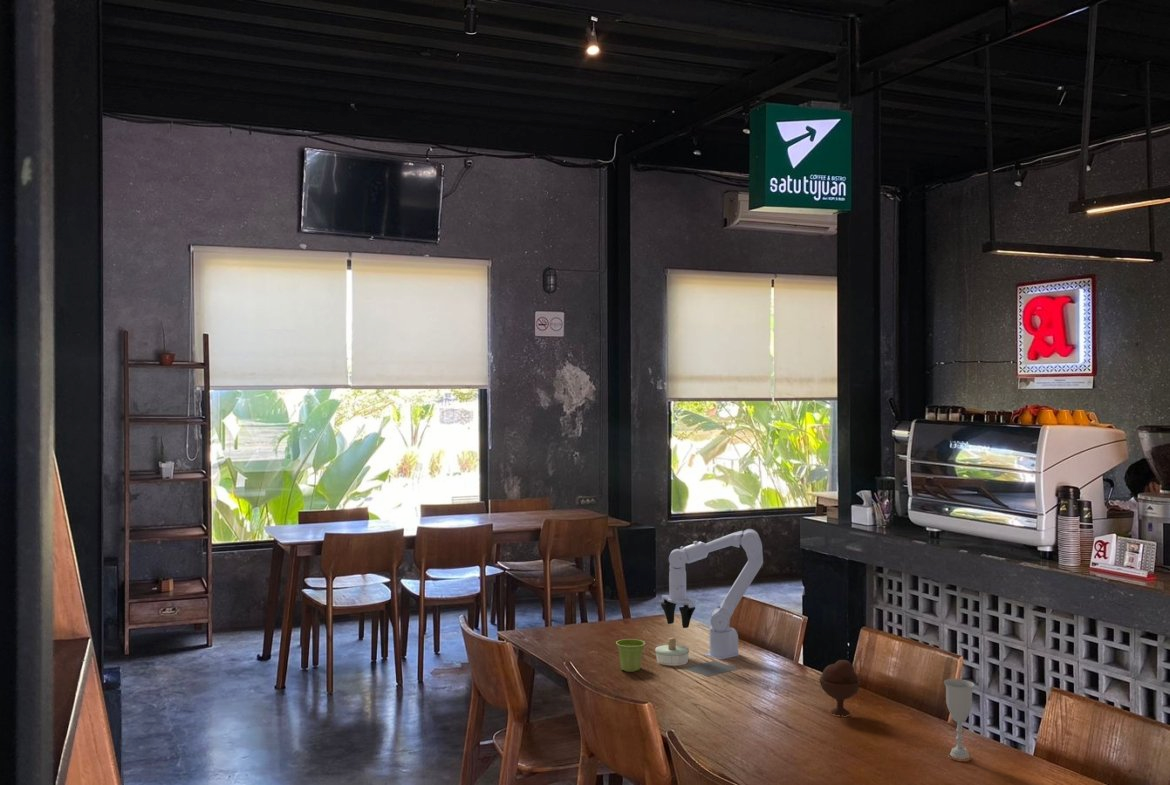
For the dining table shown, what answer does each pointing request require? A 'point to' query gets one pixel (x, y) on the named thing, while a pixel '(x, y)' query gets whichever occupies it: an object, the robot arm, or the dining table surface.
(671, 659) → the bowl
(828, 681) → the ice cream bowl
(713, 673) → the mat
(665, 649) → the lid
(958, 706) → the chalice
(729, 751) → the dining table surface
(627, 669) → the plant pot
